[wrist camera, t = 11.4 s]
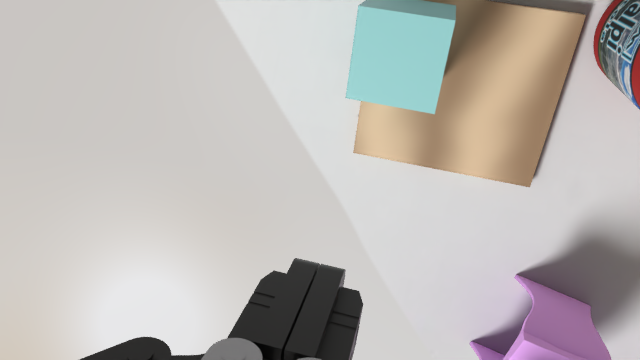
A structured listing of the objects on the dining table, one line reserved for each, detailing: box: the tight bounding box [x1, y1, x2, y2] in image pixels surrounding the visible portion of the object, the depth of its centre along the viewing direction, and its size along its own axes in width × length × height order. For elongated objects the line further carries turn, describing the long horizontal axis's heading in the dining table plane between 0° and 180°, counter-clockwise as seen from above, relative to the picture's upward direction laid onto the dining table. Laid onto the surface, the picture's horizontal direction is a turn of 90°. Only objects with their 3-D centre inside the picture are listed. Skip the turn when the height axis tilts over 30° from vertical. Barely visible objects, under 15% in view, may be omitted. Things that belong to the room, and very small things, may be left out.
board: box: [353, 0, 586, 187], centre depth 36 cm, size 13×12×1 cm
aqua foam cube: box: [346, 0, 456, 114], centre depth 32 cm, size 5×5×7 cm
